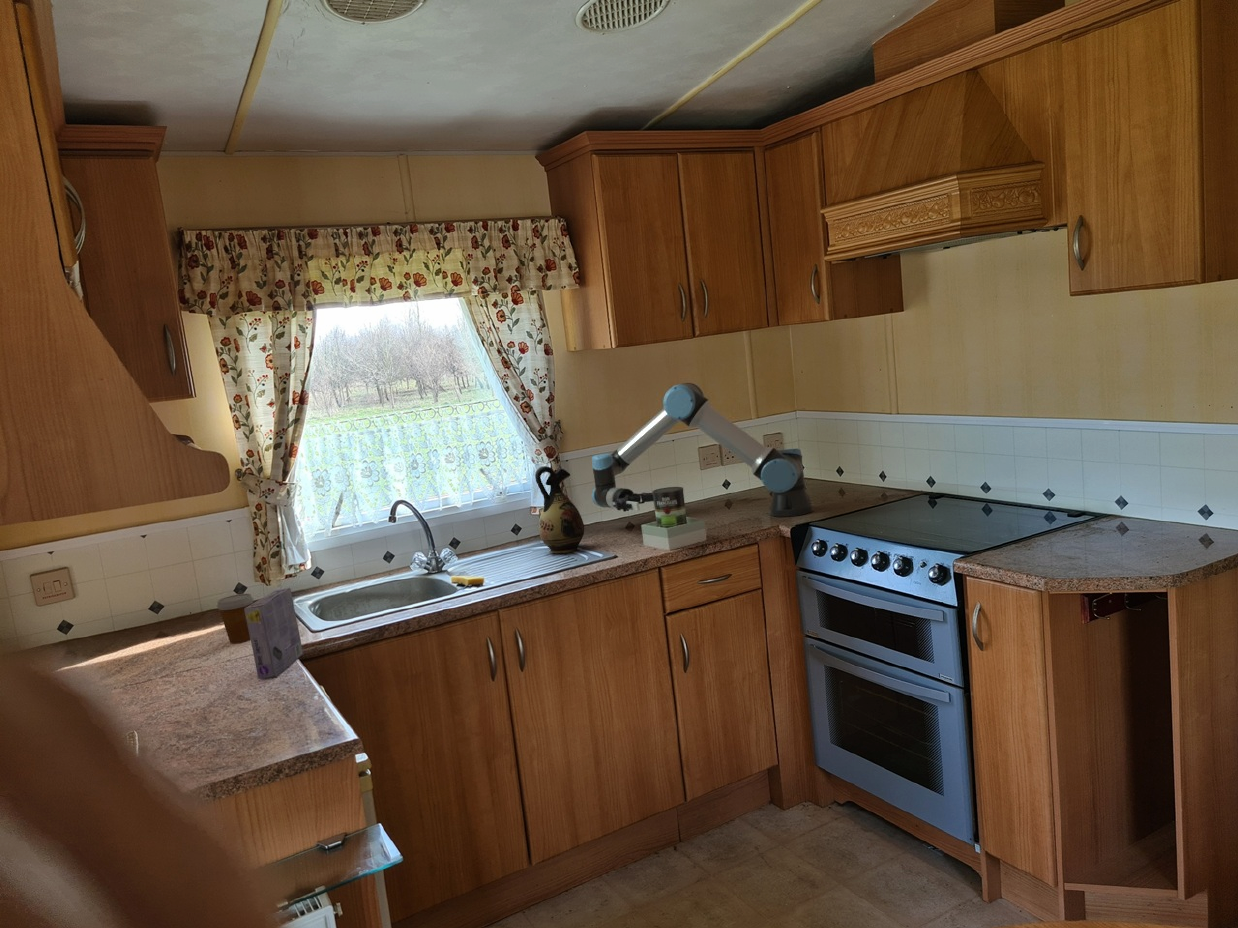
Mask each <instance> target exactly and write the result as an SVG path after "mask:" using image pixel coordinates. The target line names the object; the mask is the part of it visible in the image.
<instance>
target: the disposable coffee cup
mask: <svg viewBox="0 0 1238 928" xmlns="http://www.w3.org/2000/svg"><path fill="white" fill-rule="evenodd" d="M253 603H254V598H253V596H252V594H250V593H238V594H232V595H228V596H225V597H222V598H220V599H218V600H217V604H216V608H217V609H218V611H219V612H220V616H221V619H222V622H223V625H224V628H225V632H226V634H227V637H228V640H229V643H230V644H240V643H245V642H248V641H251V640H250V635H249V630H248V626H247V621H246V616H245V611H244V608H246V607H248V606H250V605H251V604H253Z"/></svg>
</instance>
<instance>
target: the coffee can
mask: <svg viewBox="0 0 1238 928" xmlns="http://www.w3.org/2000/svg"><path fill="white" fill-rule="evenodd" d="M651 493H653V498H654V501H653V505H654V507H653V508H654V513H655V520H656V521H655V522H657V527H662V528H671V527H675V526H679V525H683V524H687V519H686V517H687V513H686V503H685V502H686V501H685V494H684V487H683V486H669V487H668V486H667V487H661V488H657V489H654V490H652V491H651Z"/></svg>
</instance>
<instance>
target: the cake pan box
mask: <svg viewBox="0 0 1238 928" xmlns="http://www.w3.org/2000/svg"><path fill="white" fill-rule="evenodd" d="M244 611H245V616H246V621H247V626H248V630H249V635H250V640H249V641H250V643H251V644H250V645H251V648H252V654H253V659H254V663H255V664H254V665H255V669H256V673H257V679H260V680H262V679H273V678H277V677H278V676H279V675H281V673H283V672H284V671H285V670H286V669H288V668H290V666H292V665H293V664H294V662H296V661H297V660H298V659H299V658H300V657H302V656H303V655H304V651H303V645H302V641H301V636H300V630H299V624H298V620H297V616H296V609H295V605H294V599H293V594H292V590H291V588H290V587H287V588H283V589H278V590H273V591H272V592H271V593H269V594H267V595H265V596H263V597H261V598H260V599H258V600H257V601H255V602H253V603H252V604H251V605H250V606H248V607H246V608H244Z"/></svg>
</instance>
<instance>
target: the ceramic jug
mask: <svg viewBox="0 0 1238 928" xmlns="http://www.w3.org/2000/svg"><path fill="white" fill-rule="evenodd" d="M544 473H549V476H548V477H547V479H546V481H545V482H544V483H545V485H546V486H550V490H549V492H548V491H547V490H546V488H545V485H544V484H543V481H542V479H541V476H542V474H544ZM534 476H535V478H534V479H535V482H536V484H537V486H538V489H539V490H540V492H541V494H542V496H543V507H542V510H541V513H540V517H539V521H538V522H539V523H538V532H539V533H538V534H539V537H540V539H541V541H542V543H543V544H544V545H546V547H547V548H548V549H549V550H550V553H551V554H566V553H572V552H577V551H578V550H579V549H578V548H579V545H580V544H581V542H582V539H583V538H584V533H585V524H584V521H583V518H582V514H580V511H579V510H578V508H577V506H576V505H575V504H574V503H573V502H572V500H570V498H569V497H568V496H567V495H566V494H565V493H564V492H563V490H562V489H561V488H562V487H561V486H560V485H561V483H562V482H563V481H565V480H567V479H568V478H569V477H571V473H569V472H568V471H567V470H566V469H564V468H563V467H561V468H557V469H556V470H554V469H553V468H552V467H550V466H546V465H545V466H544V465H543V466H540V467H539V468H537V470H536V472H535V475H534Z"/></svg>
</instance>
